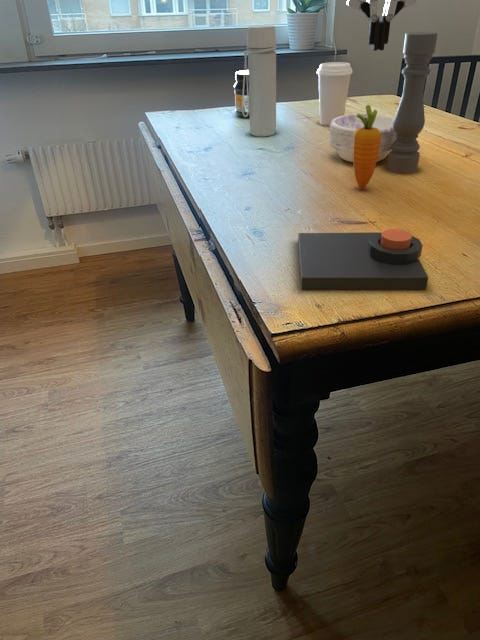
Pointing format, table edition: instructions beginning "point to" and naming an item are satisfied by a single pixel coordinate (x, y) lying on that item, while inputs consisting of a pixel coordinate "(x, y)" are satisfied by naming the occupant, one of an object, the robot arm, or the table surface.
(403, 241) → the button
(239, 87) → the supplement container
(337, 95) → the coffee cup
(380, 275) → the black push button box
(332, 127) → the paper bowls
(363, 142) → the carrot
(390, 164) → the candle holder
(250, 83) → the water bottle
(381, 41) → the robot arm
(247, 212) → the table surface
